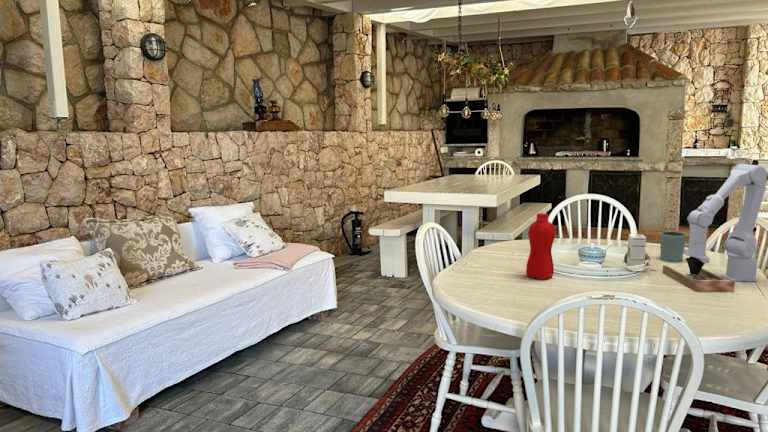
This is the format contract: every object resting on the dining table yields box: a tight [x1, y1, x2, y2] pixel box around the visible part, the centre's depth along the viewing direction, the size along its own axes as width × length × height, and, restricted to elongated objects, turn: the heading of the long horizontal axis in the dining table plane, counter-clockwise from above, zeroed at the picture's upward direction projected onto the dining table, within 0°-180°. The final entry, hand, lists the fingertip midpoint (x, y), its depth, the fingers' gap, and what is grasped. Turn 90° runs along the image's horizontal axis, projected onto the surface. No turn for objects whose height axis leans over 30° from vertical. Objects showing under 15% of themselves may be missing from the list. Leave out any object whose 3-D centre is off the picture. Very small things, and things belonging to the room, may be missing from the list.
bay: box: [662, 265, 736, 293], centre depth 214 cm, size 13×25×4 cm, turn 179°
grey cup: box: [659, 230, 687, 263], centre depth 246 cm, size 10×10×12 cm
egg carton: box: [685, 272, 717, 281], centre depth 209 cm, size 11×8×4 cm
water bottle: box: [525, 212, 556, 281], centre depth 219 cm, size 9×11×25 cm
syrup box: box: [626, 233, 647, 273], centre depth 229 cm, size 6×6×14 cm
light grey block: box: [623, 251, 651, 263], centre depth 242 cm, size 10×10×8 cm
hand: (694, 277), depth 215 cm, fingers closed
